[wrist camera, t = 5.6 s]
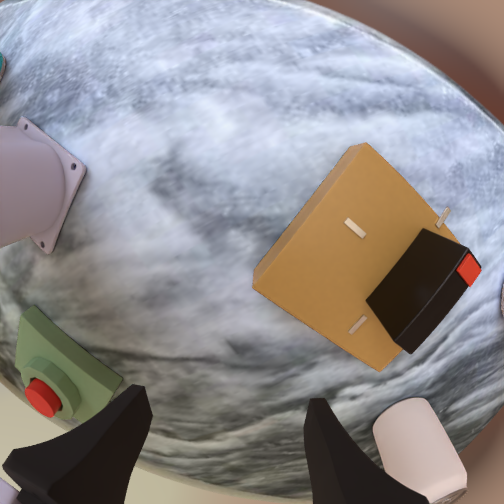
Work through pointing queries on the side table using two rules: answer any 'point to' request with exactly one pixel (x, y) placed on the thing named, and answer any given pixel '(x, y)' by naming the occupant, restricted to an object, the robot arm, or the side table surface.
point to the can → (420, 451)
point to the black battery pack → (422, 288)
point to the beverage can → (2, 65)
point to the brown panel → (347, 252)
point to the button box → (63, 367)
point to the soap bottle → (502, 301)
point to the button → (43, 398)
